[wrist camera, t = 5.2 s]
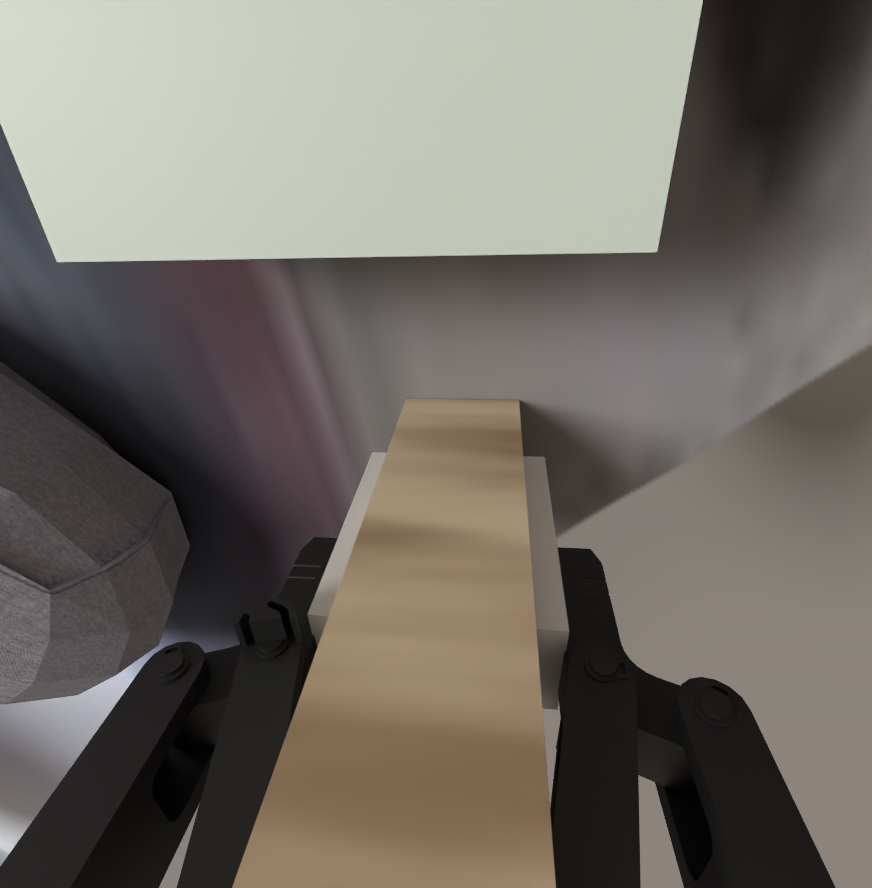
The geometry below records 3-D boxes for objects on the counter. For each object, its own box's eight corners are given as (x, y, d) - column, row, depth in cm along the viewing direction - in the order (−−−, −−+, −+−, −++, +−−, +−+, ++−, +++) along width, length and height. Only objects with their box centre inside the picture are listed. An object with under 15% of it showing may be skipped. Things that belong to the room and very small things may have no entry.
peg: (514, 492, 20) (536, 1034, 8) (412, 488, 20) (287, 997, 8) (518, 399, 18) (560, 946, 6) (406, 398, 18) (226, 902, 6)
